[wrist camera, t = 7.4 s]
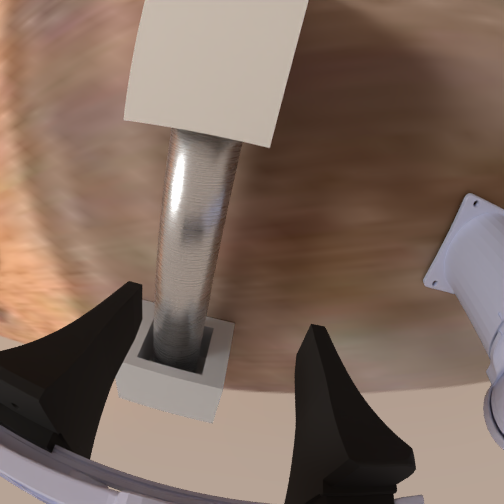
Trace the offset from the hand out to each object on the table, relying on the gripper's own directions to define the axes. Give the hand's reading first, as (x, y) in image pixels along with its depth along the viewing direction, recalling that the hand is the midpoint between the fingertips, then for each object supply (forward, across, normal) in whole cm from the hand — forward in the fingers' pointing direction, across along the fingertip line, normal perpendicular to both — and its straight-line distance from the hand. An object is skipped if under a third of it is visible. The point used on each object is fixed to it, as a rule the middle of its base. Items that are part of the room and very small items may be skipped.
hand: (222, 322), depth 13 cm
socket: (+10, +3, +12) cm, 16 cm away
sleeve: (+10, +3, -11) cm, 15 cm away
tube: (+8, +3, +1) cm, 9 cm away
